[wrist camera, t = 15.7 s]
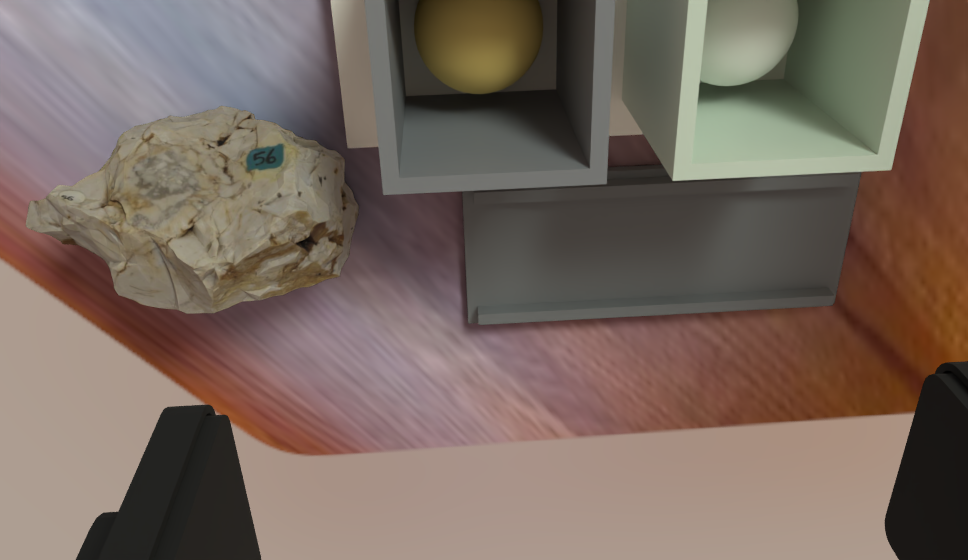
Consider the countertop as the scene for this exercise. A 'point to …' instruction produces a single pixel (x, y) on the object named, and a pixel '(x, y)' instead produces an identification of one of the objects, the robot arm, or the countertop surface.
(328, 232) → the rock
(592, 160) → the grey double box
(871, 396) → the countertop surface
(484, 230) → the mat
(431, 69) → the mustard ball
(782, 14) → the white ball
